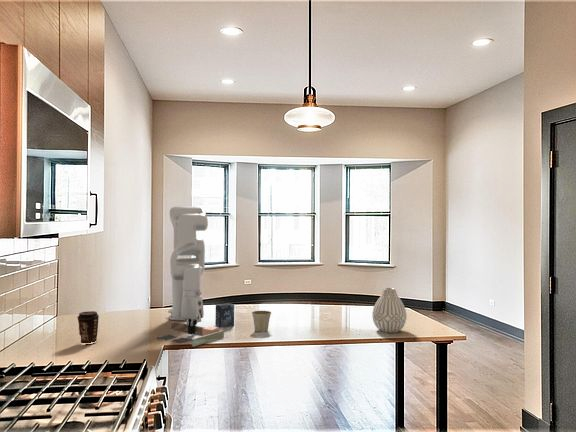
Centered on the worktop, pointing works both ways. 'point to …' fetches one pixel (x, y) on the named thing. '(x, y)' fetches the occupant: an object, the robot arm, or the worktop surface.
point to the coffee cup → (88, 326)
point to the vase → (389, 312)
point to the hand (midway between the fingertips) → (191, 333)
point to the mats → (175, 339)
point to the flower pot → (261, 320)
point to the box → (224, 315)
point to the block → (209, 330)
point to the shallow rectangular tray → (199, 330)
